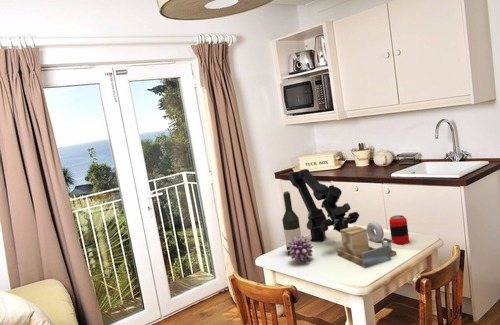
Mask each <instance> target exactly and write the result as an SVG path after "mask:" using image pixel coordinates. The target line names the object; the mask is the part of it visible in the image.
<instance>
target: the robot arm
mask: <svg viewBox="0 0 500 325" xmlns="http://www.w3.org/2000/svg"><path fill="white" fill-rule="evenodd" d="M288 180H289V181H290V183H291V185H292V186H293V187H295V188H296V189H297V190H298V193H299V195H300V196H301V199H302V201H303V204H304V206H305V207H306V210H307V223H306V228H307V230H310V236H311V239H310V242H323V241H324V240H325V239H326V238H327V235H326V231H328V230H329V227H331V226H333V229H332V230H333V231H336V232H338V233H340V234H341V232H340V230H342V229H346V228H349V225H352V224H355V223H357V221H358V220H359V217H360V214H359V213H358V212H357V211H352V212H350V213H349V211H350V210H351V206H350V204H349V203H348V202H347V203H344V204H342V206H341V205H338V204H337V203H338V202H339V200H340V197H341V196H342V190H341V188H339V187H338V186H335V185H334V184H332V185H329V186H327V185H326V184H324V183H321V182H319V180H318V179H316V177H314V175H313V174H312V173H311V172H310V170H309V169H307V168H304V169H300V170H297V171H292V172H290V173H289V175H288ZM308 187H309V188H310V190H312V192H313V193H312V194H313V196H312V195H311V192H310V190H309V188H308ZM313 197H314V198H313ZM314 199H316V201H322V200H323V201H322V202H321V208H318V207H317V205H316V203H315V201H314ZM323 209H324V210H325V211H326V213H327V217H326V215H325V213H324V211H323ZM347 213H349V214H347ZM346 215H347V216H346Z"/></svg>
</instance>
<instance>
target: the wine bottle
mask: <svg viewBox="0 0 500 325" xmlns="http://www.w3.org/2000/svg"><path fill="white" fill-rule="evenodd" d="M283 201H284V208H285V212H284V215H283V217H282V219H281V220H282V226H283V228H282V229H283V233H284V240H285V246H286V253H287V256H290V252H288V251H287V250H289V248H290V247H289V245H290V244H289V242H291V243H292V240H294V237H296V238H297V239H298V236H299V238H300V239H301V237H302V234H301V233H302V232H301V227H300V226H301V225H300V220H299V216H298V215H297V214H296V213H295V211H294V210H293V207H292V206H293V204H292V198H291V193H290V191H284V192H283ZM291 257H292V255H291Z"/></svg>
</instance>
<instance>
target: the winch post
mask: <svg viewBox="0 0 500 325" xmlns="http://www.w3.org/2000/svg"><path fill="white" fill-rule="evenodd" d="M392 242H393V240H392V239H391V238H387V237H383V239H382V240H381V247H382V246H385V245H389V247H390V255H391V258H392V257H395V256H397V250H396V251H395V250H394V249H393V248H392V244H393V243H392Z"/></svg>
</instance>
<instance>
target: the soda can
mask: <svg viewBox="0 0 500 325" xmlns="http://www.w3.org/2000/svg"><path fill="white" fill-rule="evenodd" d="M388 221H389V223H388V224H389V229H390V237H391V238H390V240H393V242H392V243H391V244H395V245H398V246H403V245H407V244H409V242H410V236H409V229H408V228H409V227H408V220H407V218H406V217H405V216H404V215H401V214H399V215H397V214H396V215H393V216H392V215H391V217H390V218H389V220H388Z"/></svg>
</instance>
